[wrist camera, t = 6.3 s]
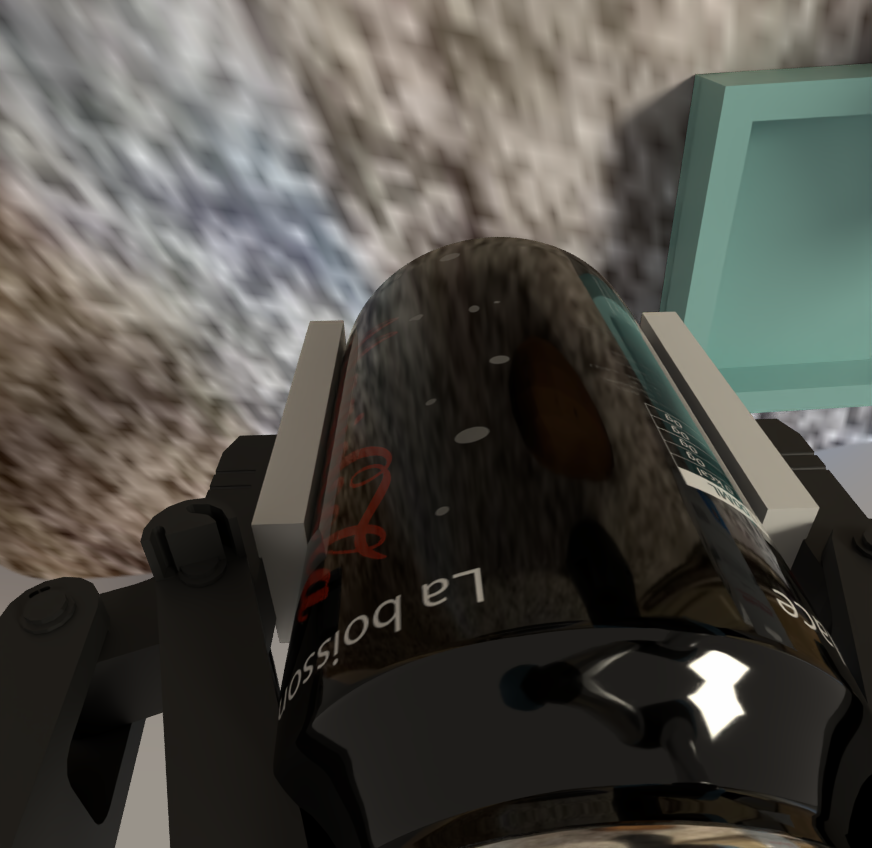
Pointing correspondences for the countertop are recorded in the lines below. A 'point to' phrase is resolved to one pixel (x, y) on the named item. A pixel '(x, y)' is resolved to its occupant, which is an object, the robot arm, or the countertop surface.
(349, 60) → the countertop surface
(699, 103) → the collection tray
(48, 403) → the countertop surface
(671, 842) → the beverage can
